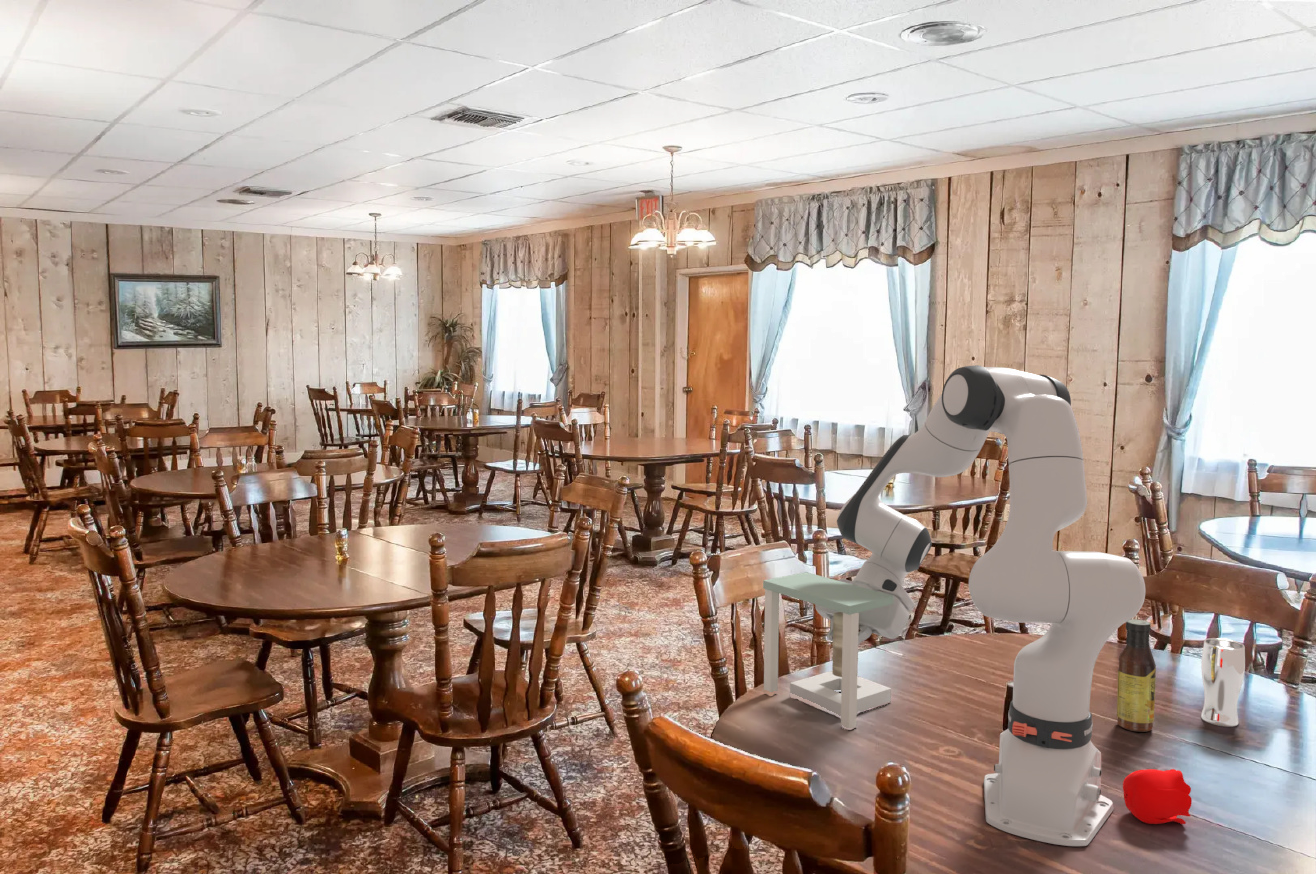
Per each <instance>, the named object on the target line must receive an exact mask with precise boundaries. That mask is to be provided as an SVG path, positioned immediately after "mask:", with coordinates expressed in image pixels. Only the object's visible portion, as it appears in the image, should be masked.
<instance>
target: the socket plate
mask: <svg viewBox="0 0 1316 874" xmlns="http://www.w3.org/2000/svg"><path fill="white" fill-rule="evenodd" d="M834 690H842V677H838V676H835V675H833V674H832V670H830V671H826V672H822V673H819V674H816V675H813V676H809V677H806V678H802V679H798V680H795V681H791V682H790V684H789V694H790V693H792V694H795V695H797V696H799V697H802V698H803V699H807V700H809V701H811V702H813V703H816V704H818V705H820V706H821V707H824V708H826V709H827V710H829V711H832V712H834V713H836V714H838V715H839V716H841V693H839V692H836V691H834ZM890 701H891V702H892V688H891V687H889V686H885V685H884V684H880V683H878V682H875V681H872V680H870V679H867V678H866V677H861V676H858V675H857V712H858V711H864V710H867V709H869V708H872V707H876V706H878V705H881V704H883V703H887V702H890Z"/></svg>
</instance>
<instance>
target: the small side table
mask: <svg viewBox="0 0 1316 874" xmlns="http://www.w3.org/2000/svg"><path fill="white" fill-rule="evenodd" d="M762 581H763V582H762V583H763V584H762V588H763V589H764V635H763V636H764V643H763V644H764V648H763V649H764V650H763V653H764V654H763V660H764V662H763V665H764V666H763V691H764V690H767V691H769V692H773V691H778V692H779V638H780V637H779V633H780V632H779V629H780V628H779V627H780V626H779V625H780V614H779V613H780V594H781V595H784V596H787V597H790V598H794V599H797V600H800V601H804V602H806V603H810V604H813V605H819V606H823V607H826V608H829V609H832V610H836V611H839V612H842V613H843V640H842V690H841V719H840V726H841V725H843V726H844V727H846V728H854V727H856V728H857V716H858V714H857V676H858V671H859V668H858V665H859V664H858V662H859V646H858V633H859V629H858V628H859V612H863V611H867V610H871V609H875V608H879V607H883V606H887V605H891V604H893V596H892V595H889V594H885V593H881V592H878V591H874V590H870V589H867V588H863V587H859V586H856V585H852V584H848V583H845V582H841V581H837V580H836V579H833V578H829V577H825V576H823V575H818V574H815V573H810V572H807V571H805V572H800V573H795V574H790V575H784V576H779V577H774V578H770V579H764V580H762Z"/></svg>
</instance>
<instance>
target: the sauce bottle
mask: <svg viewBox="0 0 1316 874" xmlns="http://www.w3.org/2000/svg"><path fill="white" fill-rule="evenodd" d="M1125 629H1126V640H1125V644H1126V645H1125V647H1124V648H1123V649H1122V651H1120V654H1119V657H1118V669H1117V690H1116V691H1117V692H1116V694H1117V695H1116V717H1117V724H1118V726H1120V727H1121V728H1122V729H1125V730H1128V731H1131V732H1137V733H1138V732H1140V733H1146V732H1150V731H1151V730H1152V729H1153V728H1154V723H1153V722H1154V721H1155V709H1156V708H1155V705H1156V704H1155V703H1156V702H1155V701H1156V700H1155V699H1156V682H1157V681H1156V679H1157V678H1156V676H1157V675H1156V673H1157V665H1156V662H1155V658H1154V656H1153V651H1152V650H1151V646H1150V632H1151V622H1150V621H1147V620H1143V619H1134V618H1132V619H1130V620H1128V621H1127V622H1125Z"/></svg>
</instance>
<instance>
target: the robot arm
mask: <svg viewBox="0 0 1316 874" xmlns="http://www.w3.org/2000/svg"><path fill="white" fill-rule="evenodd" d="M1068 389H1069V388H1067V386H1066V385H1065V383H1063V382H1062V381H1060V380H1058V379H1056V378H1054V377H1052V376H1049V375H1046V374H1035V373H1031V372H1027V371H1023V370H1017V369H1014V368H1009V367H1000V366H999V367H997V366H982V365H967V366H966V365H965V366H962V367H958V368H955V370H952V372H951V373H950V374H949V376H948V377H947V379H946V380H945V382H944V385H943V387H942V391H941V394H940V396H939V397H938V398H937V400H936V401H935V403H934V405H933V406H932V408H931V410H930V411H929V413H928V416H927V417H926V419H925V422H924V424H922V427H921V428H920V429H918V430H917V431H916V432H914V433H912V434H903V435H901V436H900V437H898V438H897V439H896V440H895V441H894V442H893V444H892V445H891V446H890V447H889V448H888V450H887V451H886V452H885V453H884V455H883V456H882V457H881V459H880V460H879V461H878V462H877V464H876V465H875V466H874V468H873V469H872V470H871V471H870V473H869V475H868V476H867V477H866V478H865V480H864V482H863V483H862V484H861V485H860V487H859V488H858V489H857V491H855V493H854V494H853V495H852V496H851V497H850V498H849V499H848V500H847V501H846V502H844V503H843V505H842V507H841V509H840V511H839V512H838V515H837V519H836V524H837V528H838V531H839V533H840V536H841V537H842V539H845V540H848V541H849V542H852V543H854V544H855V545H856V544H857V545H859V546H861V547H863V548H864V549H866V550H868V551H870V552H871V554H870V556H869V558H867V560H865V561H864V563H863V564H862V566H861V567H860V569H859V570H858V572H857V574H856V575H855V576H854V578H853V580H848V579H845V578H840V579H838V580H837V581H841V582H845V583H848V584H852V585H856V586H859V587H863V588H867V589H870V590H874V591H878V592H881V593H885V594H889V595H892V596H893V604H891V605H887V606H883V607H879V608H875V609H871V610H867V611H863V612H859V628H858V630H860V631H858V647H859V646H860V644H861V643H863V642H864V641H866V640H867V639H869V638H870V637H871V635H872V634H874V635H877V636H881V637H884V638H886V639H889V640H894V639H896V638H899V636H900V635H901V634H902V632H903V630H904V629H905V627H906V626H907V625H906V624H907V623H908V620H909V618H910V612H912V611H913V609H914V608H915V607H916V603H915V602H914V600H913V598H912V597H911V596H910V595H909V593H908V592H907V590H906V589H905V588H904V587H903V585H904V581H905V578H906V577H907V576H908V575H909V574H910V573H911V572H914V571H917V570H919V568H920V566H921V565H922V563H923V561H924V560H925V557H927V555H928V553H929V552H930V550H931V548H932V545H933V542H932V538H931V535H930V531H929V529H928V528H927V527H926V526H925V525H924V524H922V523H921V522H920V521H919V520H917V519H915V518H913V517H910V516H908V515H906V514H904V513H901V512H899V510H896V509H894V508H893V507H891V506H890V505H887V504H885V503H884V502H883V501H881V499H880V497H879V496H880V495H881V494H882V492H883V491H884V490H885V488H886V487H887V485H889V483H890V482H891V481H892V479H893V478H894V476H896V475H899V474H916V475H923V476H928V477H932V478H947V477H954V476H956V475H960V474H962V473H963V472H965V471H967V470H968V469H969V468H970V467H971V466H972V464H973V463H974V462H975V460H976V459H977V456H979V454H980V452H981V450H982V448H983V446H984V444H985V441H986V440H987V439H988V435H989V434H990V432H993V433H998V434H1002V435H1004V437H1005V438H1006V441H1007V457H1008V459H1007V460H1008V477H1009V509H1008V510H1009V512H1008V517H1007V521H1006V524H1005V527H1004V529H1003V531H1002V533H1001V535H1000V536H999V538H998V539H997V541H996V542H995V544H994V545H992V546H991V548H990V549H989V550H988V551H986V552H985V553H984V554H982V555H981V556H980V557H979V558H978V559H977V560H976V561H975V562H974V564H973V566H972V568H971V571H970V573H969V576H968V577H969V578H968V591H969V596H970V598H971V600H972V602H973V605H974V606H975V607H976V609H977V610H978V611H979V612H980V614H982V615H983V616H984V617H988V618H992V619H996V620H1000V621H1005V622H1006V621H1007V622H1012V623H1021V624H1022V623H1025V624H1026V623H1031V624H1032V623H1034V624H1035V623H1036V624H1037V623H1039V624H1041V623H1044V624H1051V625H1050V627H1049V628H1048V630H1047V631H1046V632H1045V633H1044V634H1043V635H1042V636H1041V637H1040V638H1038V639H1036V640H1034V641H1033V642H1032V641H1031V642H1030V643H1028V644H1026V645H1025V646H1023V647H1022V648H1021V649H1020V650H1019V652H1018V653H1017V655H1016V657H1015V660H1014V662H1013V683H1012V684H1013V686H1012V700H1010V703H1009V708H1008V709H1009V710H1008V713H1007V714H1008V715H1007V716H1008V717H1007V718H1008V724H1007V729H1005V730H1004V731H1002V732H1001V733H1000V734H999V748H998V749H999V750H998V751H999V753H998V763H995V764H994V765H993V771H994V773H987V774H985V775H984V777H983V778H984V779H983V794H984V809H985V810H984V811H985V812H984V813H985V814H984V815H985V821H986V823H987V824H989V825H991V827H994V828H996V829H998V830H1000V831H1002V832H1006V833H1008V834H1012V835H1015V836H1017V837H1021V838H1026V839H1030V840H1034V841H1037V842H1042V843H1048V844H1053V845H1060V846H1067V847H1086V846H1088V845H1089V844H1090V843H1091V842H1092V840H1093V839H1094V837H1095V836H1096V834H1098V832H1099V831H1100V829H1101V827H1102V826H1103V825H1104V823H1105V822H1106V820H1108V818H1109V816H1110V815H1111V814H1112V813H1113V811H1114V802H1113V801H1112V800H1111V799H1110V798H1107V796H1105V795H1103V794H1102V791H1101V789H1102V788H1101V787H1102V786H1101V785H1102V784H1101V783H1102V753H1101V751H1100V750H1099V749H1098V748H1097V747H1096V746H1095V745H1094V743H1093V742H1092V741H1091V739H1092V736H1093V735H1092V734H1093V733H1092V732H1093V728H1094V726H1093V724H1094V723H1093V714H1092V712H1091V711H1090V705H1091V704H1090V703H1091V691H1092V685H1093V684H1092V681H1093V675H1094V669H1095V665H1096V662H1097V659H1098V657H1099V655H1100V653H1101V651H1102V649H1103V647H1104V646H1105V644H1106V643H1107V641H1108V640H1109V639H1110V637H1111V636H1113V634H1114V633H1115V632H1116V631H1117V629H1119V628H1120V627H1121V626H1122V625H1124V624H1126V622H1127V621H1128V620H1131V619H1134V617H1136V616H1137V614H1138V613H1139V612H1140V610H1141V609H1142V607H1143V605H1144V603H1145V598H1146V584H1145V579H1144V576H1143V574H1142V572H1141V570H1140V568H1138V566H1137V565H1136V564H1135V563H1134V562H1133V560H1131V559H1130V558H1128V557H1126V556H1120V555H1116V554H1112V553H1106V552H1101V551H1074V550H1073V551H1065V550H1063V551H1062V550H1061V551H1060V550H1054V549H1053V548H1054V545H1053V544H1054V538H1055V535H1056V533H1057V532H1058V531H1061V530H1063V529H1064V528H1067V527H1069V526H1071V525H1073V524H1074V523H1075V522H1077V521H1079V520H1080V519H1081V518H1082V516H1083V515H1084V514H1085V512H1086V510H1087V507H1088V494H1087V484H1086V473H1085V461H1084V452H1083V446H1082V444H1083V443H1082V439H1081V434H1080V431H1079V427H1078V422H1077V419H1076V416H1075V413H1074V410H1073V408H1072V406H1071V405H1072V399H1071V398H1072V397H1071V395H1070V392H1069V391H1070V390H1068ZM814 605H815V610H816V611H817V613H818V614H819V615H820V616H821V617H822V618H823V619H826V620H827V619H828V620H830V621H829V622H830V625H829V626H830V627H829V628H830V630H829V631H828V633H827V635H826V637H827V639H828V640H829V641H832V642H833V614H834V613H837V612H839V611H836V610H832V609H829V608H826V607H823V606H819V605H816V604H814Z"/></svg>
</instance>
